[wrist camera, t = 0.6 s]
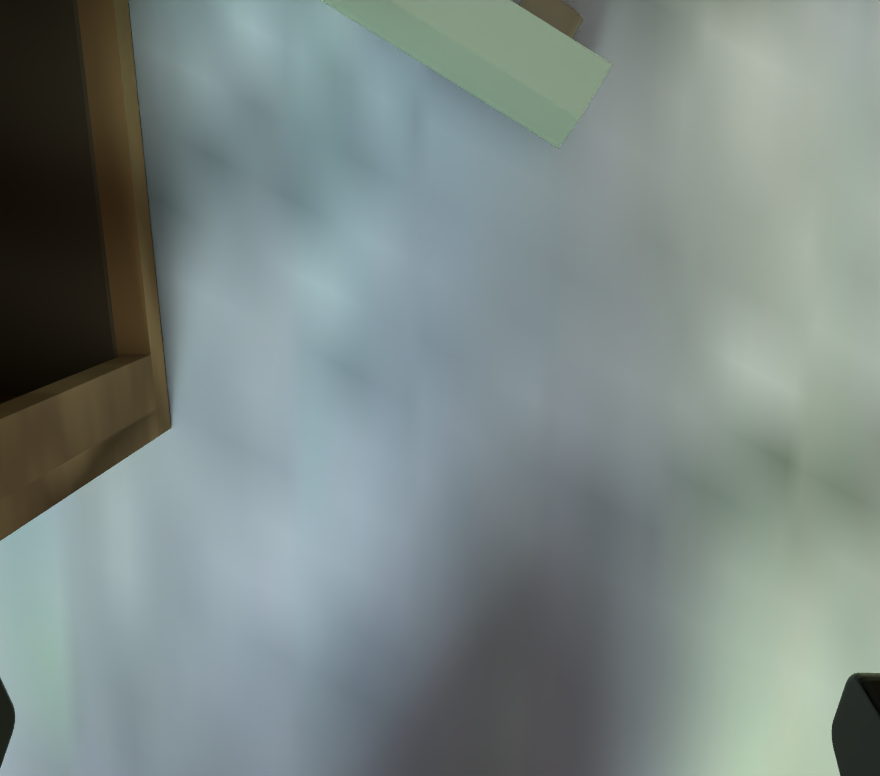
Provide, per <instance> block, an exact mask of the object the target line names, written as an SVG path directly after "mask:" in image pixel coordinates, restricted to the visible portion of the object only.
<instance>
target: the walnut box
mask: <svg viewBox="0 0 880 776" xmlns="http://www.w3.org/2000/svg"><path fill="white" fill-rule="evenodd" d="M170 428H171V422H170V412H169V402H168V392H167V382H166V372H165V362H164V352H163V343H162V333H161V323H160V313H159V303H158V293H157V283H156V273H155V263H154V253H153V244H152V234H151V224H150V214H149V204H148V194H147V184H146V174H145V164H144V154H143V145H142V135H141V125H140V115H139V105H138V95H137V85H136V75H135V65H134V55H133V45H132V36H131V26H130V16H129V6H128V0H0V541H1V540H2V539H4V538H5V537H7V536H8V535H10V534H11V533H13V532H14V531H16V530H17V529H19V528H20V527H22V526H23V525H25V524H26V523H28V522H29V521H31V520H32V519H34V518H35V517H37V516H38V515H40V514H41V513H43V512H45V511H46V510H48V509H49V508H51V507H52V506H54V505H55V504H57V503H58V502H60V501H61V500H63V499H64V498H66V497H67V496H69V495H70V494H72V493H73V492H75V491H76V490H78V489H79V488H81V487H82V486H84V485H85V484H87V483H88V482H90V481H91V480H93V479H94V478H96V477H98V476H99V475H101V474H102V473H104V472H105V471H107V470H108V469H110V468H111V467H113V466H114V465H116V464H117V463H119V462H120V461H122V460H123V459H125V458H126V457H128V456H129V455H131V454H132V453H134V452H135V451H137V450H138V449H140V448H141V447H143V446H144V445H146V444H148V443H149V442H151V441H152V440H154V439H155V438H157V437H158V436H160V435H161V434H163V433H164V432H166V431H167V430H169V429H170Z"/></svg>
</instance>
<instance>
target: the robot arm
mask: <svg viewBox="0 0 880 776" xmlns="http://www.w3.org/2000/svg"><path fill="white" fill-rule="evenodd" d="M14 724H15V711H14V706H13V703H12V701H11V699H10V697H9V695H8V693H7V691H6V688H5V686H4V684H3V682H2V680H1V678H0V767H1V765H2V762H3V759H4V756H5V753H6V750H7V747H8V744H9V741H10V738H11V736H12V733H13V729H14ZM832 743H833V748H834V752H835V756H836V760H837V764H838V768H839V772H840V776H880V673H855V674H853V675H851V676H850V677H849V678H848V680H847V682H846V684H845V687H844V690H843V693H842V696H841V699H840V702H839V705H838V708H837V711H836V714H835V717H834V720H833V724H832Z"/></svg>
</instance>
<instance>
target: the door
mask: <svg viewBox="0 0 880 776" xmlns="http://www.w3.org/2000/svg"><path fill="white" fill-rule="evenodd" d="M321 1H323V2H324V3H326V4H327V5H329V6H331V7H332V8H334V9H335V10H337V11H339V12H340V13H342V14H343V15H345V16H347V17H348V18H350V19H351V20H353V21H355V22H356V23H358V24H360V25H361V26H363V27H364V28H366V29H368V30H369V31H371V32H372V33H374V34H376V35H377V36H379V37H380V38H382V39H384V40H385V41H387V42H388V43H390V44H392V45H393V46H395V47H396V48H398V49H400V50H401V51H403V52H404V53H406V54H408V55H409V56H411V57H412V58H414V59H416V60H417V61H419V62H420V63H422V64H424V65H425V66H427V67H429V68H430V69H432V70H433V71H435V72H437V73H438V74H440V75H441V76H443V77H445V78H446V79H448V80H449V81H451V82H453V83H454V84H456V85H457V86H459V87H461V88H462V89H464V90H465V91H467V92H469V93H470V94H472V95H473V96H475V97H477V98H478V99H480V100H481V101H483V102H485V103H486V104H488V105H489V106H491V107H493V108H494V109H496V110H498V111H499V112H501V113H502V114H504V115H506V116H507V117H509V118H510V119H512V120H514V121H515V122H517V123H518V124H520V125H522V126H523V127H525V128H526V129H528V130H530V131H531V132H533V133H534V134H536V135H538V136H539V137H541V138H542V139H544V140H546V141H547V142H549V143H550V144H552V145H554V146H555V147H557V148H558V149H559V148H560V146H561V145H562V143H563V142H564V141H565V139H566V138H567V136H568V135H569V133H570V132H571V130H572V129H573V128H574V126H575V125H576V123H577V122H578V120H579V119H580V117H581V116H582V114H583V112H584V111H585V109H586V108H587V106H588V104H589V103H590V101H591V99H592V98H593V96H594V94H595V93H596V91H597V89H598V88H599V86H600V85H601V83H602V81H603V80H604V78H605V76H606V75H607V73H608V71H609V70H610V68H611V67H612V65H613V64H611V63H610V62H608V61H606V60H605V59H603V58H602V57H600V56H599V55H597V54H595V53H594V52H592V51H591V50H589V49H587V48H586V47H584V46H583V45H581V44H579V43H578V42H576V41H575V40H573V39H572V38H573V36H574V35H575V33H576V31H577V30H578V28H579V26H580V25H581V23H582V21H583V20H582V18H581V16H580V15H579V14H578V13H577V12H576V11H575V10H574V9H573V8H571V7H570V6H569V5H568V4H566V3H565V2H564V1H562V0H521V2H520V4H519V5H517V4H516V3H514V2H513V1H511V0H321Z"/></svg>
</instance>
